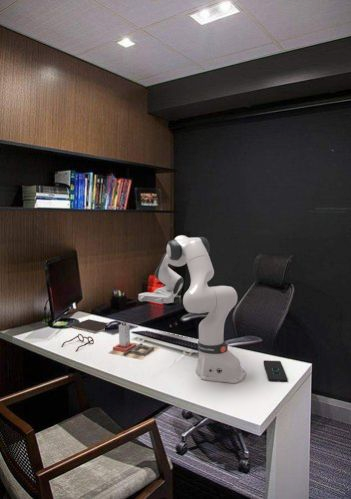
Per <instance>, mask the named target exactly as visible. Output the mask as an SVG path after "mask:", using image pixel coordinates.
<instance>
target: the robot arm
mask: <svg viewBox="0 0 351 499" xmlns="http://www.w3.org/2000/svg"><path fill="white" fill-rule="evenodd" d="M210 250H211V249H210V243H209V240H208V239H207V238H206V237H204V236H197V237H188V236H187V235H183V234H181V235H177V236H176V237H175V238H174V239H172V240H169V241H168V242H167V244H166V252H165V253H164V254H163V255H162V257H161V259H160V262H159V264H158V266H157V268H156V270H155V272H154V278H155V279H156V280H158V281H160V282H161V283H162V284H163V285H164V286H162V287H159V288H156V289H155V290H154V291H153V292H149V291H148V292H141V293H138V297H137V298H138V301H139V302H151V303H154V304H160V305H161V304H171V303H174V302H175V300H174V298H175V297H177V296H178V294H179V292H181V290H182V289H183V287H184V278H183V277H182V276H181V275H179V274H178V273H177V272H176V271H174V270H173V269H171V268H170V267H169V265H171V266H174V267H182V266H185V265H186V264H187V268H188V272H189V275H190V285H189V288H188V289H187V291H186V292H185V293H184V294H183V297H182V298H183V299H182V303H183V307H184V309H185V310H186V312H188V313H192V314H203V313H208V314H206V315H207V316H206V317H205V318H203V319H202V320H201V321H200V322H199V324H198V341H197V352H198V356H197V357H198V358H197V365H196V369H195V374H197V375H198V376H199V377H200V379H201V380H202V381H203V380H204V381H209V382H210V381H211V382H220V383H230V384H238V383H241V381H243V380H244V379H245V378H246V375H247V370H246V369H245V368H242V366H241V361H240V359H239V358H238V357H237V356H235V355H234V354H233V353H232V352H230V350H229V349H228V346H229V342H228V343H226V342H225V341H224V331H225V322H226V319H227V317H228V315H229V313H230V312H231V310H232V309H233V308H234V307H235V306H236V304H237V303H238V293H237V291H236V289H235V288H234V287H232V286H228V285H216V286H215V285H214V286H209V285H208V282H209V281H211V279H212V278H213V277H214V275H215V270H214V267H213V263H212V261H211V257H210V256H209V255H210V254H209V253H210Z"/></svg>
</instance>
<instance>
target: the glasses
mask: <svg viewBox="0 0 351 499" xmlns="http://www.w3.org/2000/svg"><path fill="white" fill-rule="evenodd" d="M80 336H81V337H82V339H81V338H80ZM76 339H78V340H79V341H80V342H84V341H85V339H87V342H86V343H84V344H81V345H79V346H77V348H76V349H75V353H77V352H78V350H79V349H80V348H81V347H85V346H87V345H88V344H90V345H94V344H95V340H94V338H93V337H92V336H84V335H82V334H81V333H78V334H77V335H76V336H75V337H73V338H71V339H69V340H65V341H64V342H63V343H62V344H61V345H60V346H61V348H63V347H64V345H65V344H66V343H69V342H71V341H74V340H76Z"/></svg>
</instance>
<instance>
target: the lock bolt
mask: <svg viewBox="0 0 351 499" xmlns="http://www.w3.org/2000/svg"><path fill="white" fill-rule="evenodd" d="M130 330H131V328H130V323H127V322H126V321H122V322H121V323H120V324H118V335H119V336H118V340H119V342H118V344H119V347H120V348H125V349H126V348H128V347H130V342H131V332H130Z"/></svg>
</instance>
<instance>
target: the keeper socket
mask: <svg viewBox="0 0 351 499" xmlns="http://www.w3.org/2000/svg"><path fill="white" fill-rule="evenodd" d="M132 343H133V342H131V343H130V347H128V348H126V349H125V348H120V347H119V343H117V344H116V345H115V346H112V350H116V351H121V352H127V351H128V350H130V349H132V348H133V347H135V346H136V344H132Z"/></svg>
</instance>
